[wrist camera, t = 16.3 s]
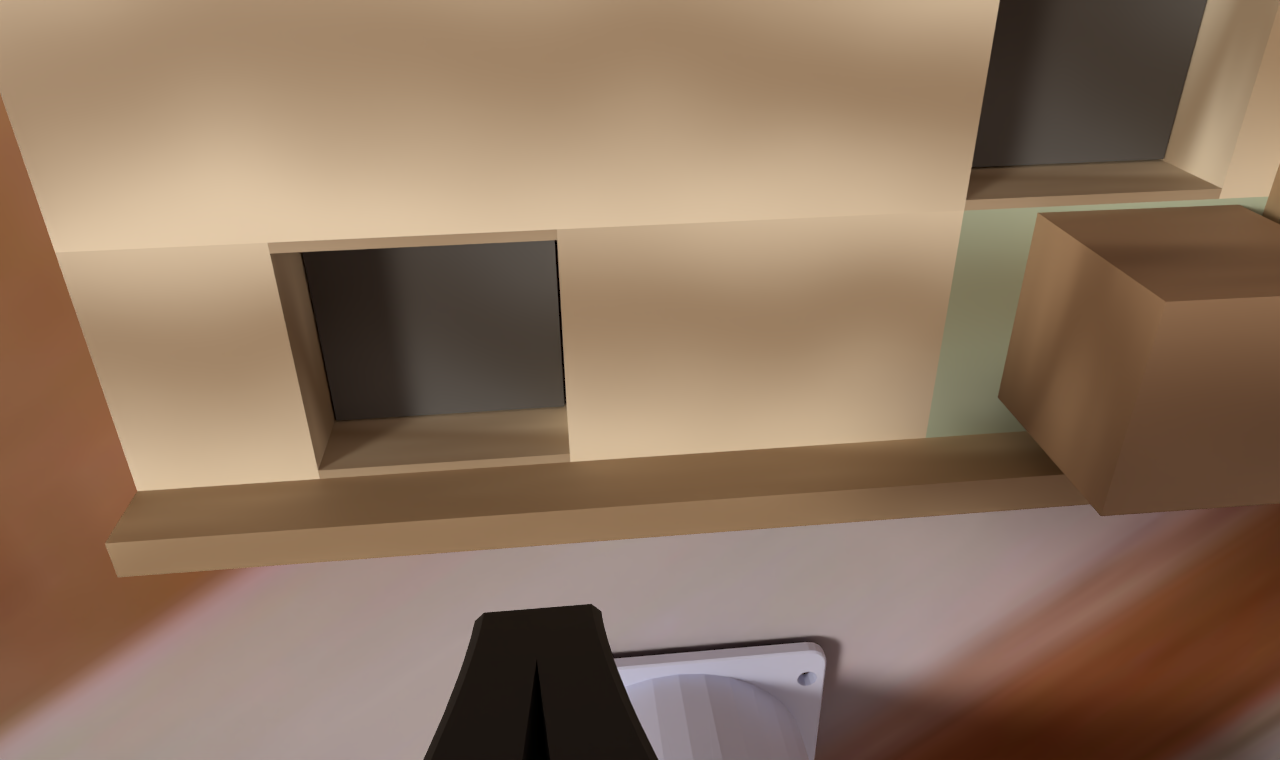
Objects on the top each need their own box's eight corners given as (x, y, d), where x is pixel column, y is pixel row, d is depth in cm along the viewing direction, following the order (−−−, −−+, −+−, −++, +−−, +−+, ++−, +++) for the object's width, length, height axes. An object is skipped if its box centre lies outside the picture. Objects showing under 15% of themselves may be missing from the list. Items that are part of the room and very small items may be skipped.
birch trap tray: (1163, 402, 22) (1266, 491, 19) (181, 466, 20) (117, 576, 17) (1322, -105, 17) (1502, -97, 14) (10, -83, 15) (-127, -68, 12)
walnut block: (1178, 386, 20) (1319, 500, 16) (997, 397, 19) (1100, 516, 16) (1238, 204, 18) (1413, 289, 14) (1037, 212, 17) (1165, 302, 14)
